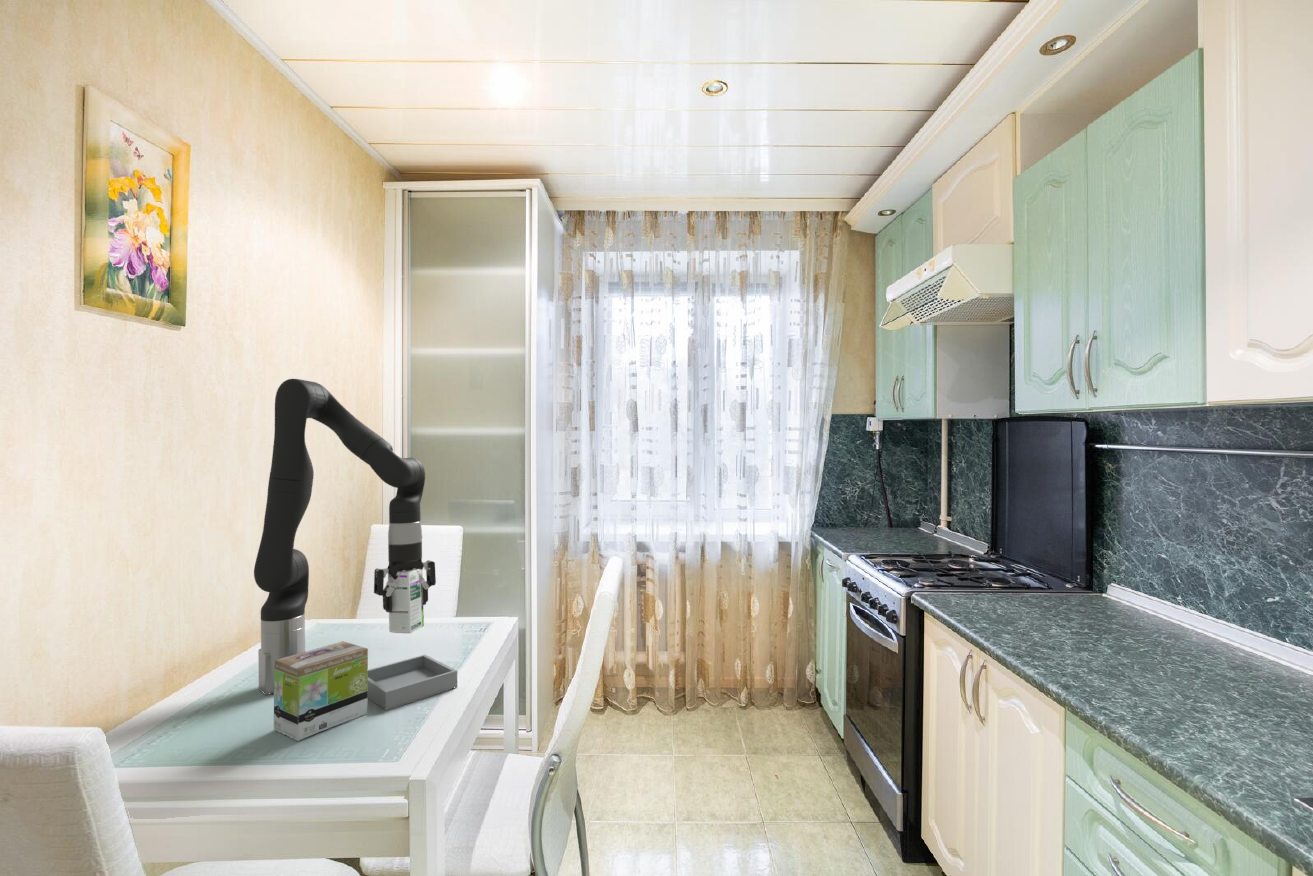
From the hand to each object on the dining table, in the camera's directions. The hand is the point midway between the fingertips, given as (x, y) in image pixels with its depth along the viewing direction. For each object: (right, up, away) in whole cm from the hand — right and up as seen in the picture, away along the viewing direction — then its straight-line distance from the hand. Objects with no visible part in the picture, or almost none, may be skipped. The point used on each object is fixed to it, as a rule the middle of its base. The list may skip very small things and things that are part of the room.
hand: (405, 608), depth 147 cm
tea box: (-11, -20, -17) cm, 28 cm away
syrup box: (0, -5, 0) cm, 5 cm away
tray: (0, -19, 0) cm, 19 cm away
